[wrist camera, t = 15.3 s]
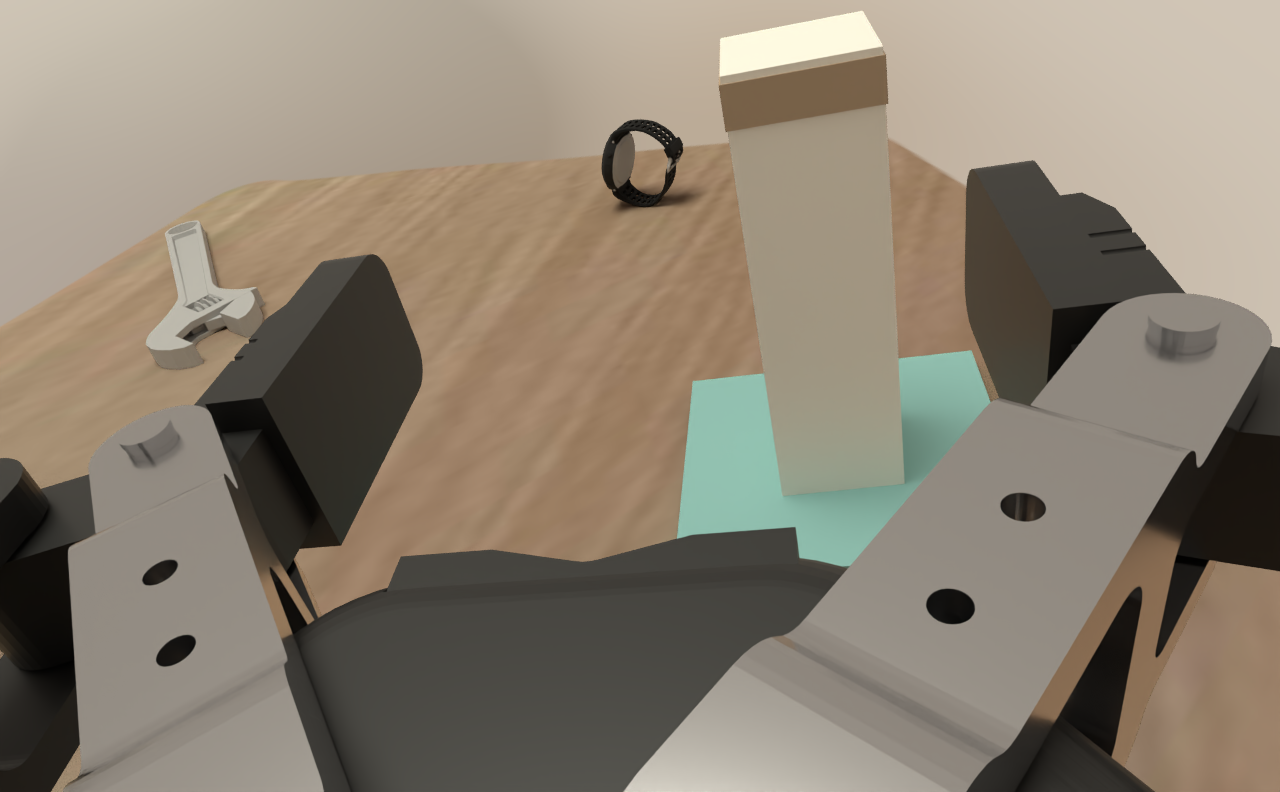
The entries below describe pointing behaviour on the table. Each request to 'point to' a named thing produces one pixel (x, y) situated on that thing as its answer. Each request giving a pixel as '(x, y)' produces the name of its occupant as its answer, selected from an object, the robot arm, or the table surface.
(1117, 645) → the robot arm
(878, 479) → the post
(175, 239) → the adjustable wrench
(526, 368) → the table surface
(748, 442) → the mat
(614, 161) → the smartwatch
